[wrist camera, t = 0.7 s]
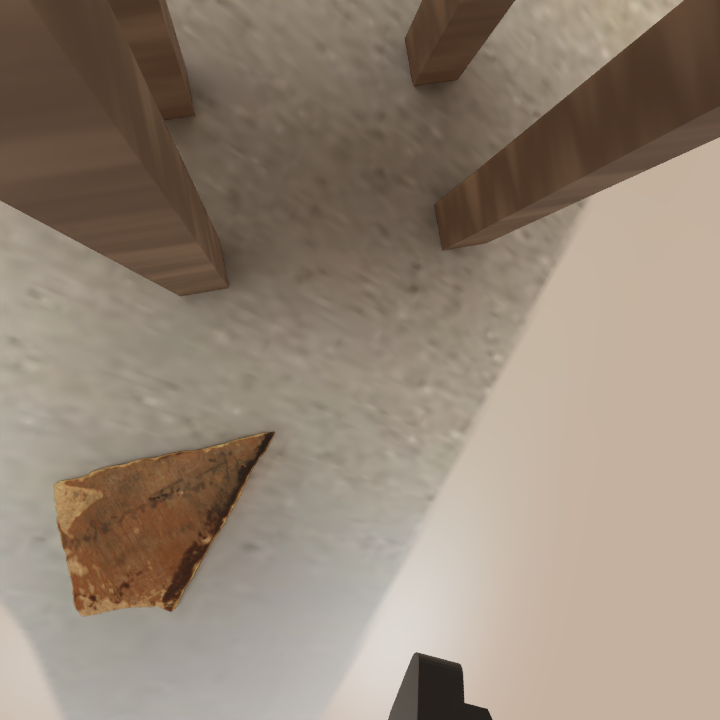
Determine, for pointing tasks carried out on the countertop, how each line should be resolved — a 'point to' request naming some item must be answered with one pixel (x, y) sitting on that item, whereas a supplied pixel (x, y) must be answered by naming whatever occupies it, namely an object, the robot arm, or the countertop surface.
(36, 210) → the walnut stand
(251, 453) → the brown flat wedge
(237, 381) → the countertop surface
